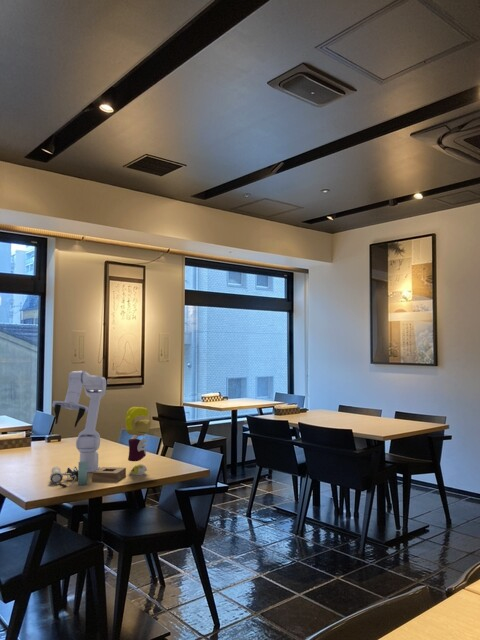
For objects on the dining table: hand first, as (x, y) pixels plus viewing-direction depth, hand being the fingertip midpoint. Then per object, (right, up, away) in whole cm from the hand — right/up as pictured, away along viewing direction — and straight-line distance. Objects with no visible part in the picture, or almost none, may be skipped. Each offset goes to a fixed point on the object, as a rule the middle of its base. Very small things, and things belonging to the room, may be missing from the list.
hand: (65, 424), depth 208 cm
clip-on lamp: (-2, -26, +4) cm, 26 cm away
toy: (+25, -27, +24) cm, 44 cm away
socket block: (+15, -26, +12) cm, 32 cm away
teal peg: (+6, -25, +1) cm, 26 cm away
